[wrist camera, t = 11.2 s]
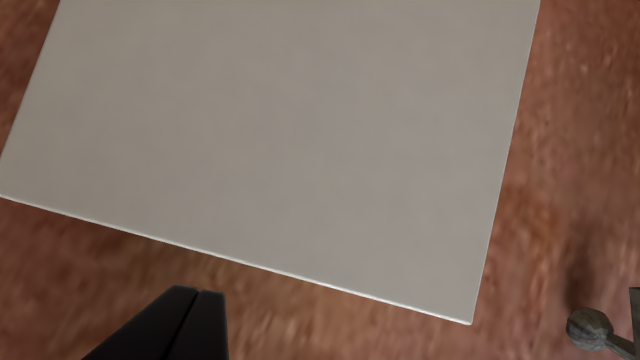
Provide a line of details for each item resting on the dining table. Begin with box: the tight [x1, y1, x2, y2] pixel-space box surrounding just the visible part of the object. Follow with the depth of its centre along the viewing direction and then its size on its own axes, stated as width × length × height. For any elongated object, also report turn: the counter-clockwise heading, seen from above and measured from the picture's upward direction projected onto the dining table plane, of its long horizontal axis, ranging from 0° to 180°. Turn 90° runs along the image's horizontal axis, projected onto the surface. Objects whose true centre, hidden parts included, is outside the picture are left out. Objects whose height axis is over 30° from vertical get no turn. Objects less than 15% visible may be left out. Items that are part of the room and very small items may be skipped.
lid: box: [0, 0, 541, 325], centre depth 14 cm, size 13×12×1 cm
